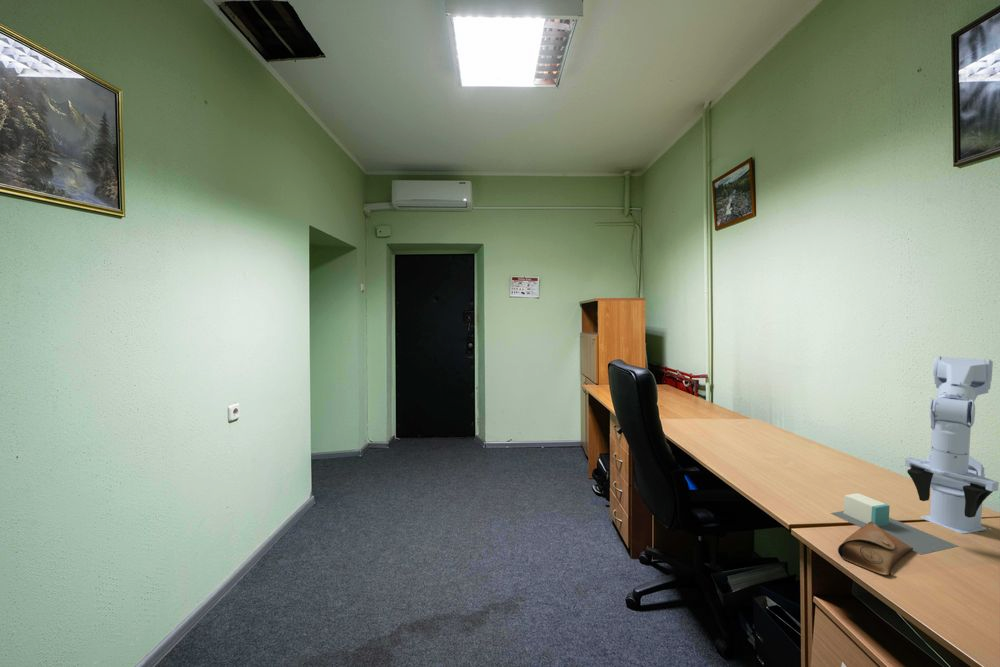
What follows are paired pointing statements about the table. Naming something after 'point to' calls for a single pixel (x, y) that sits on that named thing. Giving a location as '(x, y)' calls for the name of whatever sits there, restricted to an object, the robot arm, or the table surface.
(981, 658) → the table surface
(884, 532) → the sunglasses case
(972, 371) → the robot arm
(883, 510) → the cream block
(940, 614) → the table surface
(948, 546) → the rubber mat
